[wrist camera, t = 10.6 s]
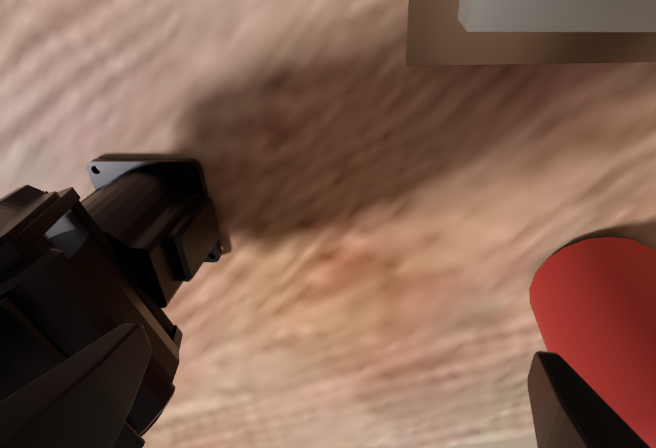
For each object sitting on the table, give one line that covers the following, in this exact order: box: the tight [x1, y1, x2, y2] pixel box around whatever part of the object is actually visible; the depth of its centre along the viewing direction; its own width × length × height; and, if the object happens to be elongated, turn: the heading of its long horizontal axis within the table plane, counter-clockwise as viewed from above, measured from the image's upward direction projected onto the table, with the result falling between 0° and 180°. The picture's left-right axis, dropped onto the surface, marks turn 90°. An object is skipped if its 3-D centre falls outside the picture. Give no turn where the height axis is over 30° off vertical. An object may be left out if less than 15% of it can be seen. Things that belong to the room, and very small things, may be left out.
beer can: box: [529, 237, 656, 448], centre depth 18 cm, size 7×7×12 cm
